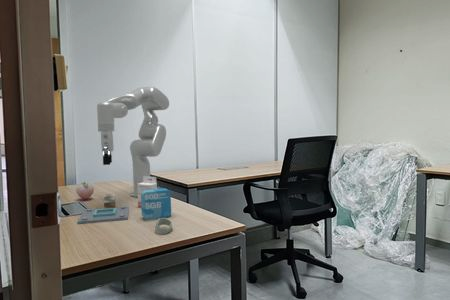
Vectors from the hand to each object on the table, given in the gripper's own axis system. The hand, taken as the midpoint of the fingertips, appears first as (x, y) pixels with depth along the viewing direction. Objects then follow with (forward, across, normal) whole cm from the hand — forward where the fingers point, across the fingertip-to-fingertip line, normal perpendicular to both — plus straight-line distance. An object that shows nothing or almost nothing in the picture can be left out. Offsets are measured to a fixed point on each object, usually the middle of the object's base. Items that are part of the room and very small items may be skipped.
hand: (107, 163), depth 168 cm
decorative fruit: (+22, +22, +14) cm, 34 cm away
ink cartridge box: (+22, -6, -18) cm, 29 cm away
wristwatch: (+22, -46, -23) cm, 56 cm away
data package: (+22, -26, -21) cm, 40 cm away
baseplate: (+22, -16, +1) cm, 27 cm away
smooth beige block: (+22, 0, 0) cm, 22 cm away
